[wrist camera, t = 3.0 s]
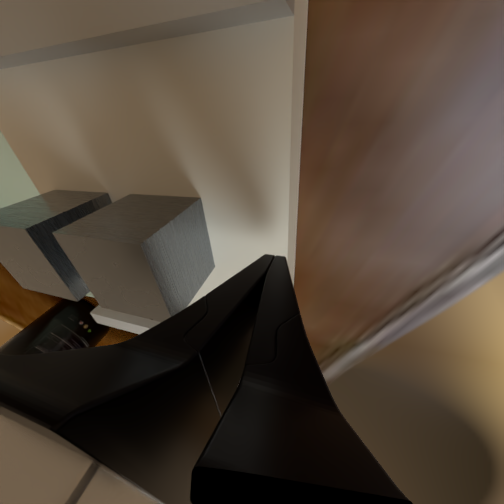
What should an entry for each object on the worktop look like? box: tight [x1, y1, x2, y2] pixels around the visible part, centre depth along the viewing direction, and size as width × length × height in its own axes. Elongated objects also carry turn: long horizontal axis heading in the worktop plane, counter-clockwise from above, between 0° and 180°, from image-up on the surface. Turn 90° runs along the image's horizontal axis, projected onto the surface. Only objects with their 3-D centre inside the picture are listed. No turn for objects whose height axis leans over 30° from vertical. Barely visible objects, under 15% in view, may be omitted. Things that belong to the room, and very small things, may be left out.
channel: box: [0, 0, 308, 334], centre depth 13 cm, size 17×15×4 cm
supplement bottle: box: [0, 299, 109, 355], centre depth 24 cm, size 7×7×12 cm
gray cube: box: [0, 190, 112, 302], centre depth 12 cm, size 4×4×4 cm
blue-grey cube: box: [52, 194, 215, 322], centre depth 10 cm, size 4×4×4 cm
